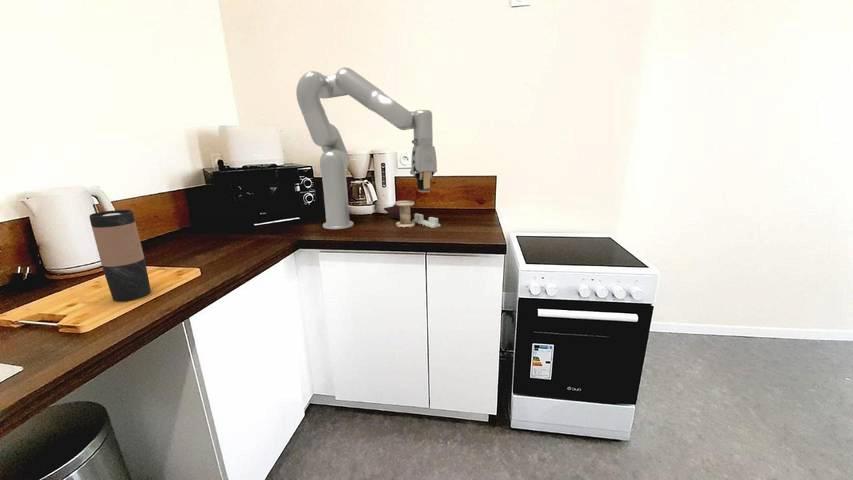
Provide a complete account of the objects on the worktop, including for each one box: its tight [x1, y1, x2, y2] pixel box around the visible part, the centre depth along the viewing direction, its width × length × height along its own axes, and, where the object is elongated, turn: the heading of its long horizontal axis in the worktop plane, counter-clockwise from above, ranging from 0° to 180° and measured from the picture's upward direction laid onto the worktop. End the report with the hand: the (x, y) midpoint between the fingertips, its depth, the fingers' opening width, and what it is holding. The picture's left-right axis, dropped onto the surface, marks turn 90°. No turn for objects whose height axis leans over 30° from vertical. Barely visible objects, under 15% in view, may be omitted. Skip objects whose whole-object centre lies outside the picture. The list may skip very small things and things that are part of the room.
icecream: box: [383, 203, 400, 220], centre depth 163 cm, size 7×7×15 cm
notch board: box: [412, 213, 441, 229], centre depth 152 cm, size 14×4×4 cm, turn 40°
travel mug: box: [89, 209, 152, 303], centre depth 82 cm, size 8×8×20 cm
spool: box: [394, 200, 416, 229], centre depth 149 cm, size 8×8×10 cm
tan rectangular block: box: [417, 172, 431, 193], centre depth 146 cm, size 4×3×8 cm
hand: (424, 188), depth 147 cm, fingers closed on tan rectangular block, 3 cm apart
